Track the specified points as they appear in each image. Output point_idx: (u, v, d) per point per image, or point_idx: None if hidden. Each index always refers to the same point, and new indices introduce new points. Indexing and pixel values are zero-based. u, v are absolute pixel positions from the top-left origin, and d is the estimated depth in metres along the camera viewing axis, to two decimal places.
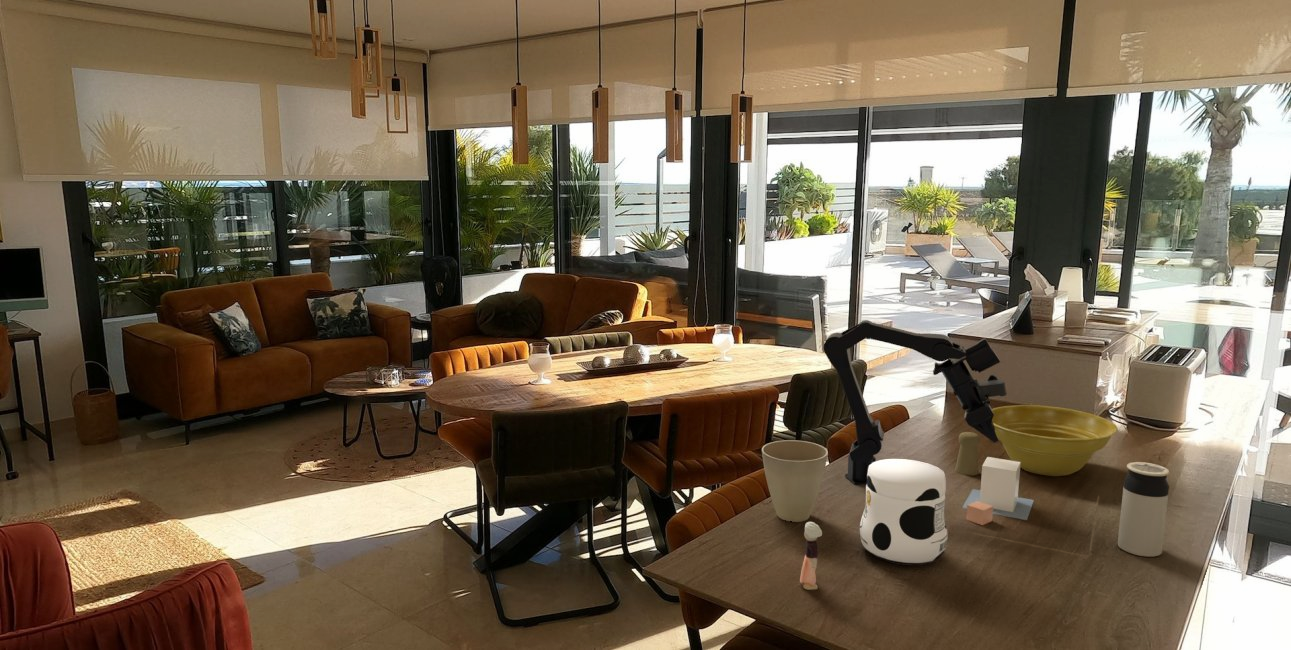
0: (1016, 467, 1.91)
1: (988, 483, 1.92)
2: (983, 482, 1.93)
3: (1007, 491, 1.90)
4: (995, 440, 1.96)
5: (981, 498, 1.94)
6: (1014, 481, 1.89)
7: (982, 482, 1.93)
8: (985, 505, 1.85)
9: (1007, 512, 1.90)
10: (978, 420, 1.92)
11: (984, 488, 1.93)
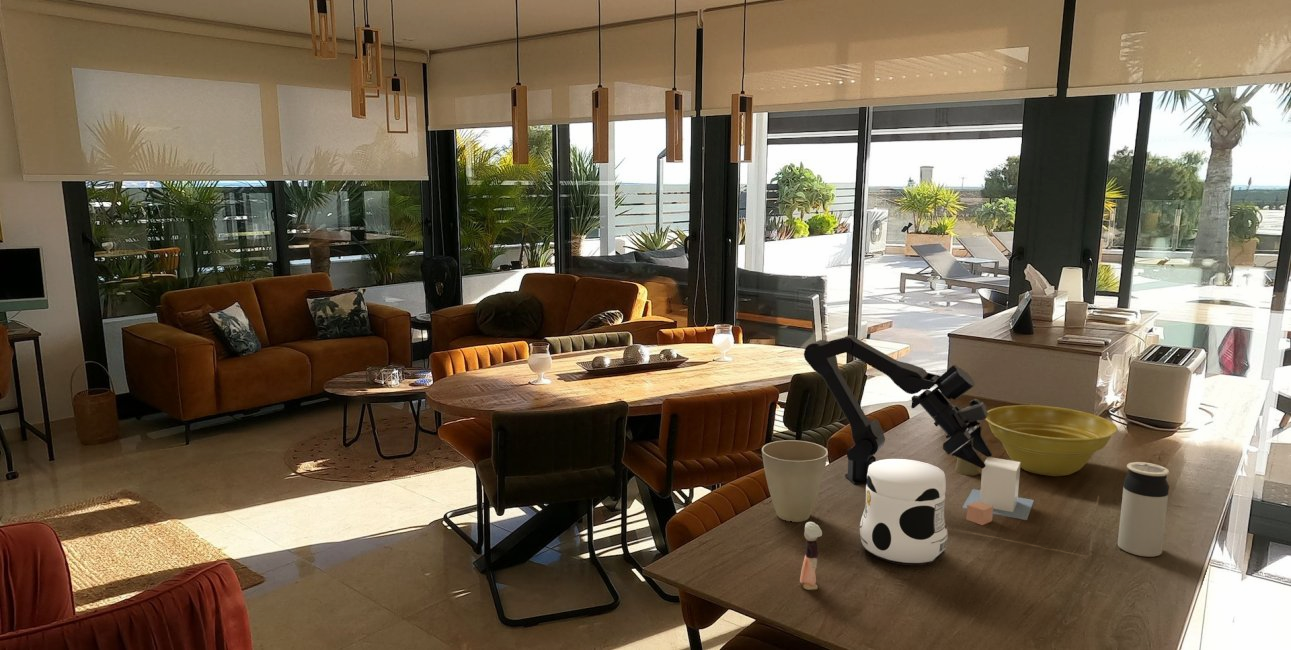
0: (1016, 467, 1.91)
1: (988, 483, 1.92)
2: (983, 482, 1.93)
3: (1007, 491, 1.90)
4: (982, 466, 1.91)
5: (981, 498, 1.94)
6: (1014, 481, 1.89)
7: (982, 482, 1.93)
8: (985, 505, 1.85)
9: (1007, 512, 1.90)
10: (955, 448, 1.90)
11: (984, 488, 1.93)
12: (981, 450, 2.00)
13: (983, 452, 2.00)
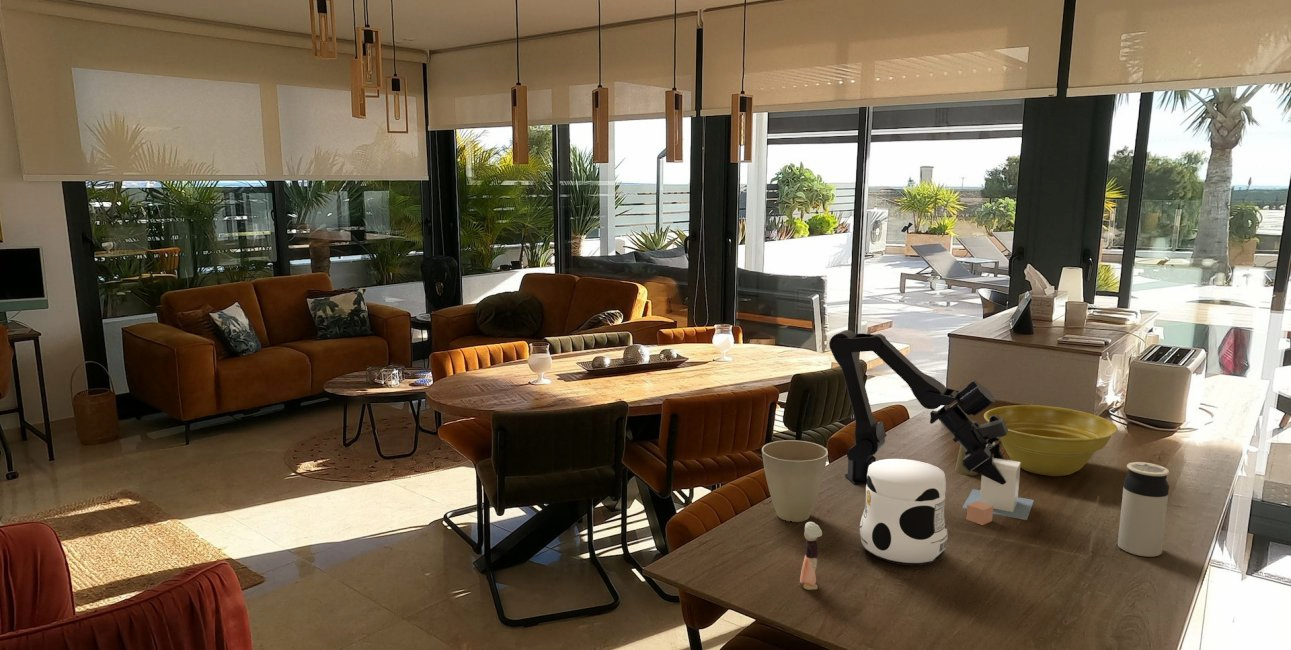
0: (1016, 467, 1.91)
1: (989, 483, 1.92)
2: (983, 482, 1.93)
3: (1007, 491, 1.90)
4: (1003, 482, 1.90)
5: (981, 498, 1.94)
6: (1014, 481, 1.89)
7: (982, 482, 1.93)
8: (985, 505, 1.85)
9: (1007, 512, 1.90)
10: (975, 465, 1.88)
11: (984, 488, 1.93)
12: None
13: None
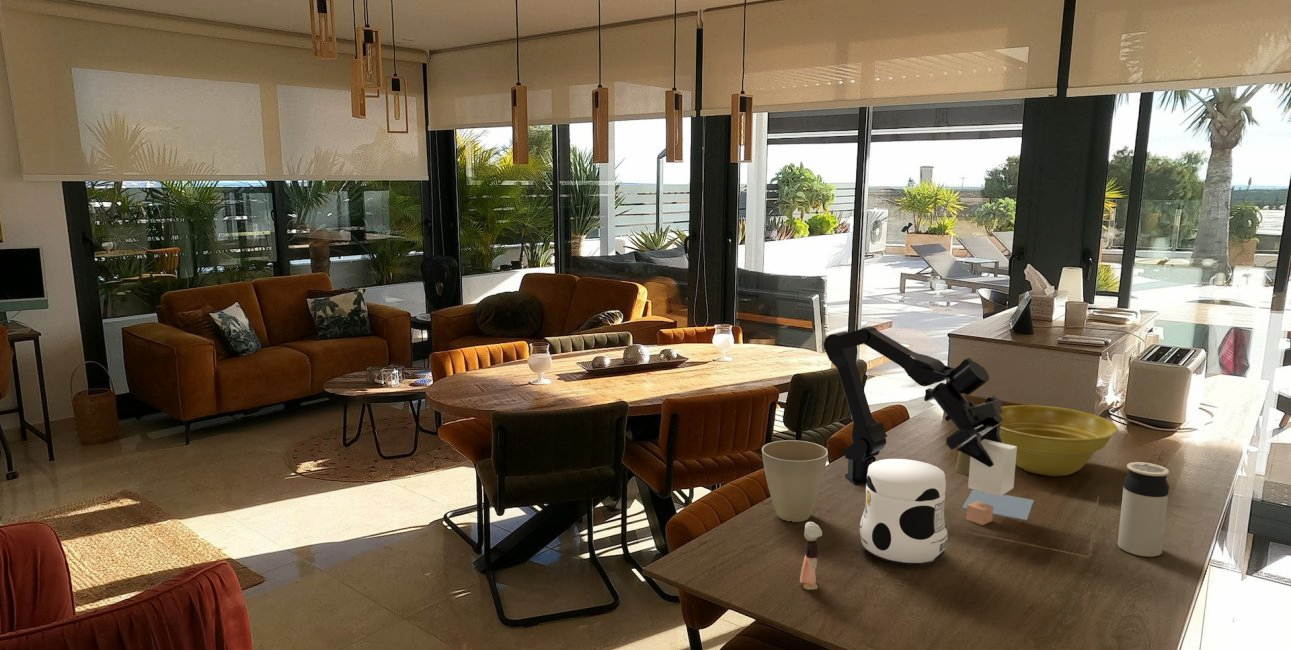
0: (1007, 450, 1.83)
1: (977, 465, 1.86)
2: (972, 463, 1.87)
3: (995, 474, 1.83)
4: (989, 464, 1.83)
5: (970, 480, 1.87)
6: (1002, 464, 1.82)
7: (971, 463, 1.87)
8: (985, 505, 1.85)
9: (1007, 512, 1.90)
10: (957, 443, 1.83)
11: (973, 470, 1.87)
12: None
13: None
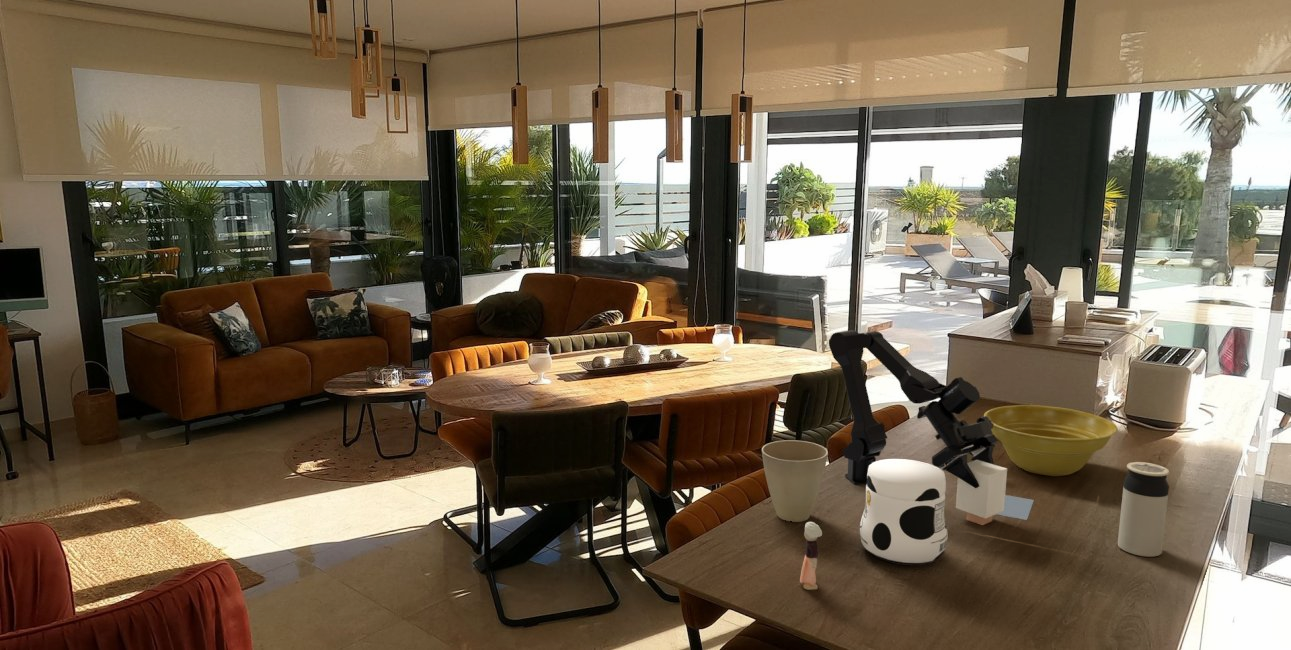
0: (994, 472, 1.81)
1: (964, 485, 1.84)
2: (959, 483, 1.85)
3: (980, 496, 1.81)
4: (975, 485, 1.81)
5: (957, 500, 1.86)
6: (987, 486, 1.79)
7: (958, 483, 1.85)
8: None
9: (1007, 512, 1.90)
10: (941, 463, 1.82)
11: (960, 490, 1.85)
12: None
13: None
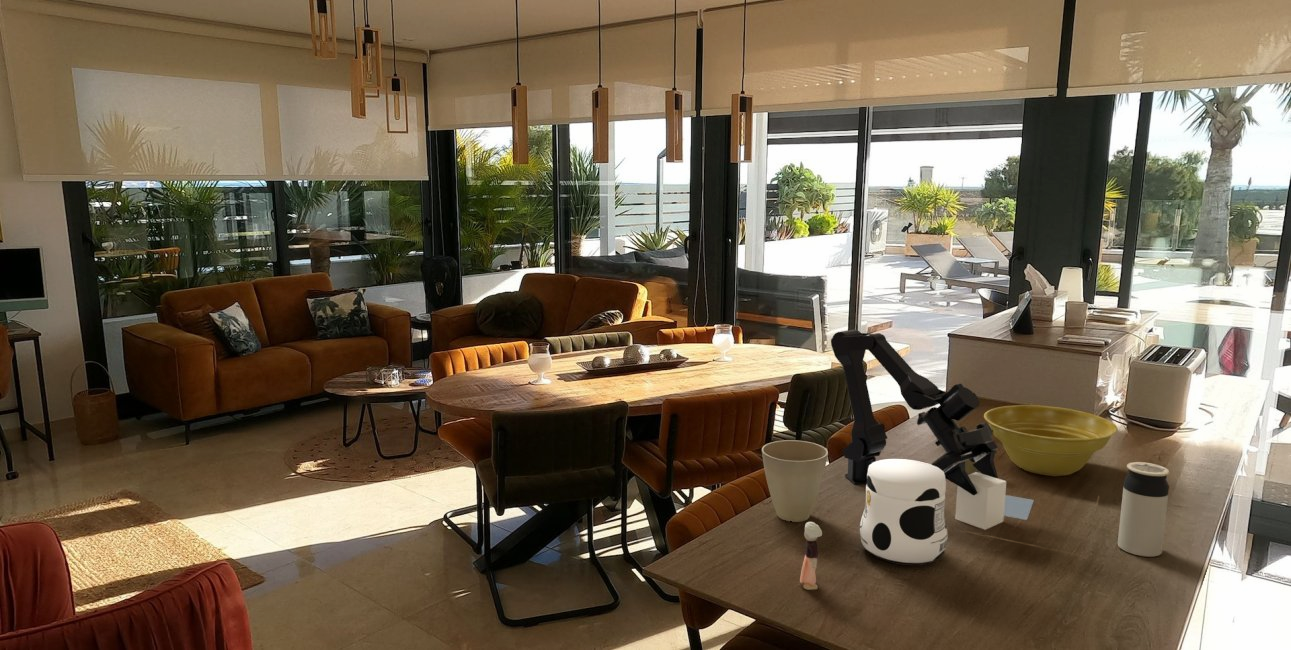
0: (993, 485, 1.81)
1: (963, 498, 1.84)
2: (958, 496, 1.85)
3: (980, 508, 1.81)
4: (973, 492, 1.81)
5: (956, 513, 1.86)
6: (986, 499, 1.80)
7: (957, 496, 1.85)
8: None
9: (1007, 512, 1.90)
10: (941, 469, 1.82)
11: (959, 502, 1.85)
12: None
13: None
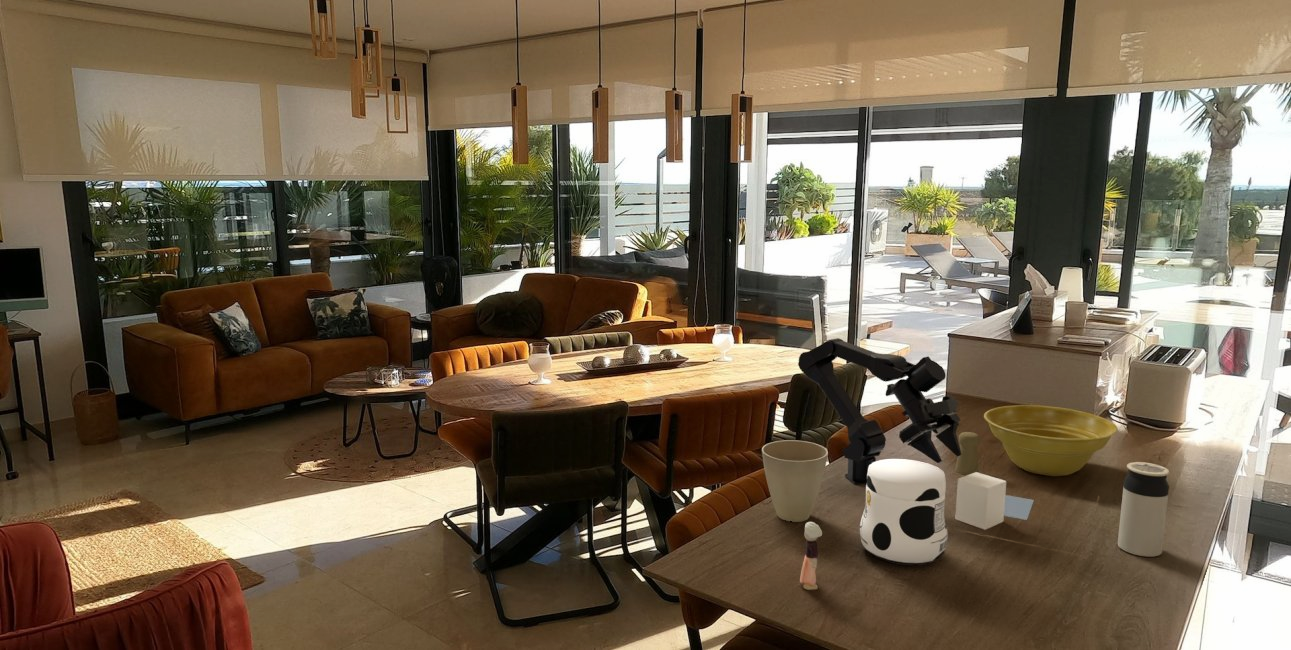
0: (993, 485, 1.81)
1: (963, 498, 1.84)
2: (958, 496, 1.85)
3: (980, 508, 1.81)
4: (938, 460, 1.88)
5: (956, 513, 1.86)
6: (986, 499, 1.80)
7: (957, 496, 1.85)
8: None
9: (1007, 512, 1.90)
10: (909, 437, 1.88)
11: (959, 502, 1.85)
12: (951, 448, 1.95)
13: (953, 450, 1.95)
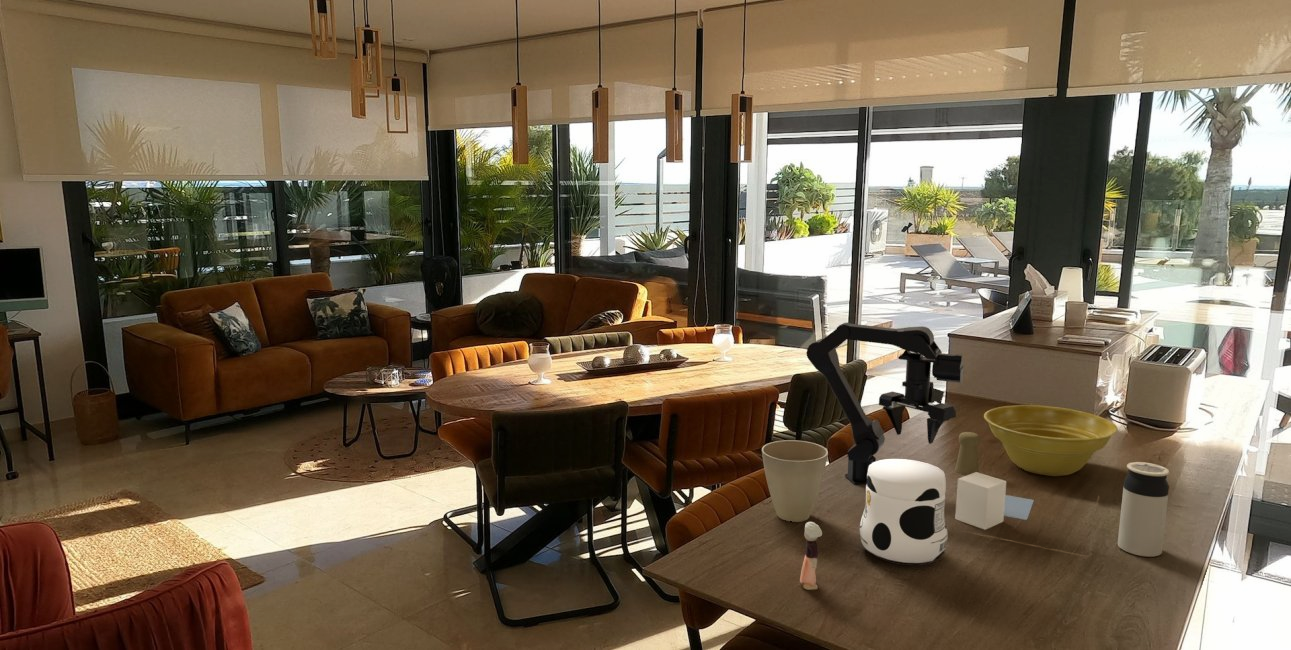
0: (993, 485, 1.81)
1: (963, 498, 1.84)
2: (958, 496, 1.85)
3: (980, 508, 1.81)
4: (931, 441, 2.00)
5: (956, 513, 1.86)
6: (986, 498, 1.80)
7: (957, 496, 1.85)
8: None
9: (1007, 512, 1.90)
10: (948, 417, 1.95)
11: (959, 502, 1.85)
12: (898, 426, 2.07)
13: (897, 428, 2.07)
